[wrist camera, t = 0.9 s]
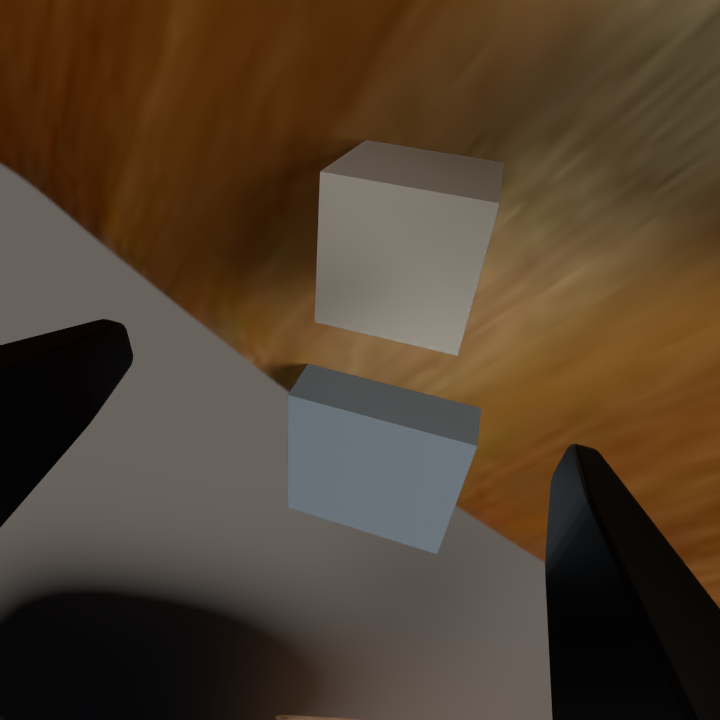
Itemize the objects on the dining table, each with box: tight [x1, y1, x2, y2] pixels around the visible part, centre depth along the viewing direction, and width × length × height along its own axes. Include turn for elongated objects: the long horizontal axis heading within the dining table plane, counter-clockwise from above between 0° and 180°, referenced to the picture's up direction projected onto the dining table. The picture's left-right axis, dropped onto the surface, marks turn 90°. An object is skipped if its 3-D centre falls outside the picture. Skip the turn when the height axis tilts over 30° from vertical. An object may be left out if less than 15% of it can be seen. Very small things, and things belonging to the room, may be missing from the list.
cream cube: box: [315, 140, 504, 356], centre depth 16 cm, size 5×5×5 cm
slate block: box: [288, 364, 481, 554], centre depth 24 cm, size 9×9×3 cm
